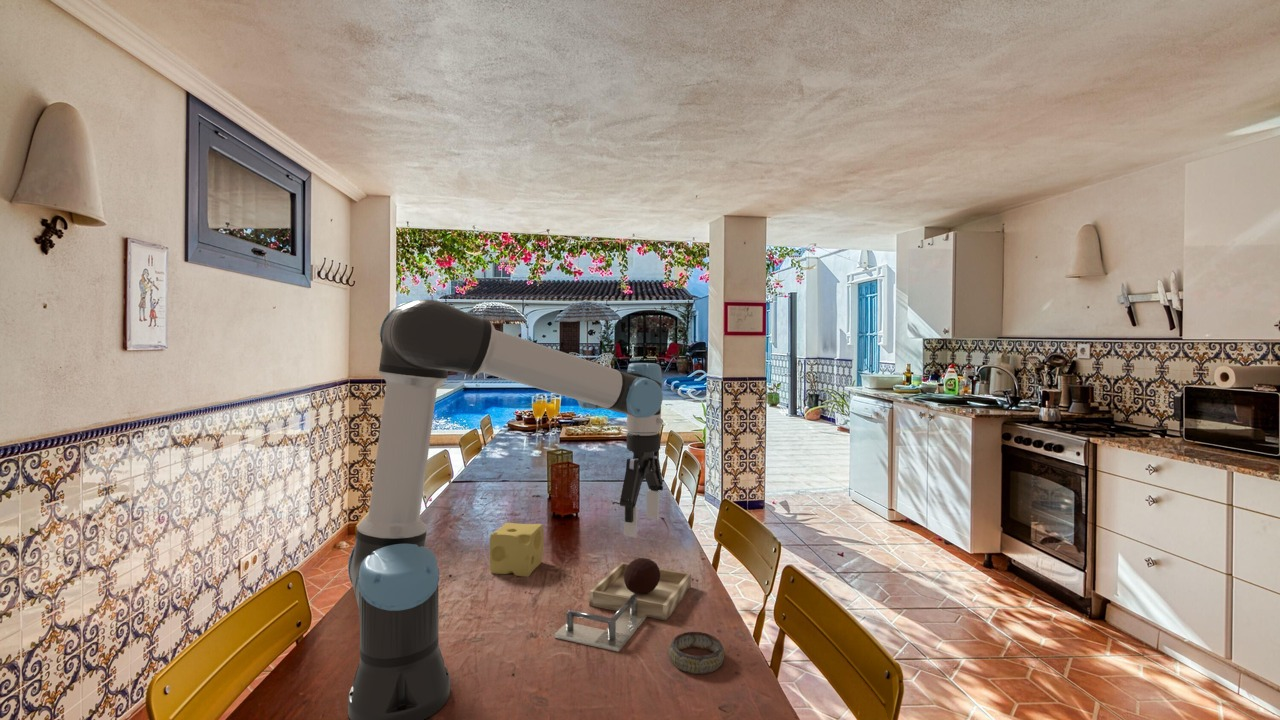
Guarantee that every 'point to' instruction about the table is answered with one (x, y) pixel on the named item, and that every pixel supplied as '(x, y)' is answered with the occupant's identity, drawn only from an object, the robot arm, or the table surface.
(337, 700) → the table surface
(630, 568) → the dark brown ball
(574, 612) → the corner grab bar
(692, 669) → the decorative ring
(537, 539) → the cheese
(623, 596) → the tray
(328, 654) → the table surface
